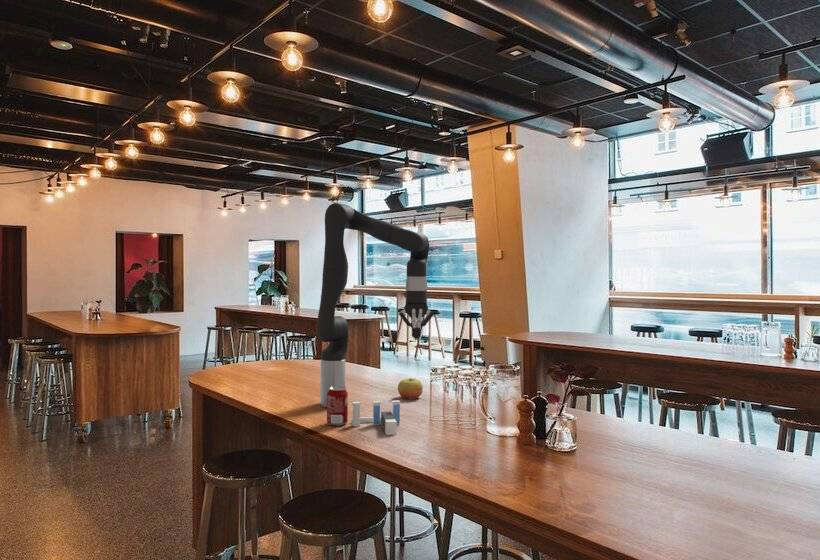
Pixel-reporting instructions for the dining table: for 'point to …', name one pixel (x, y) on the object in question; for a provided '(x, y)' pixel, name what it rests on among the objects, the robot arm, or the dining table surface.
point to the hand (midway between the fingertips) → (415, 338)
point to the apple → (410, 388)
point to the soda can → (337, 406)
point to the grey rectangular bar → (389, 423)
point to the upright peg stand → (374, 413)
